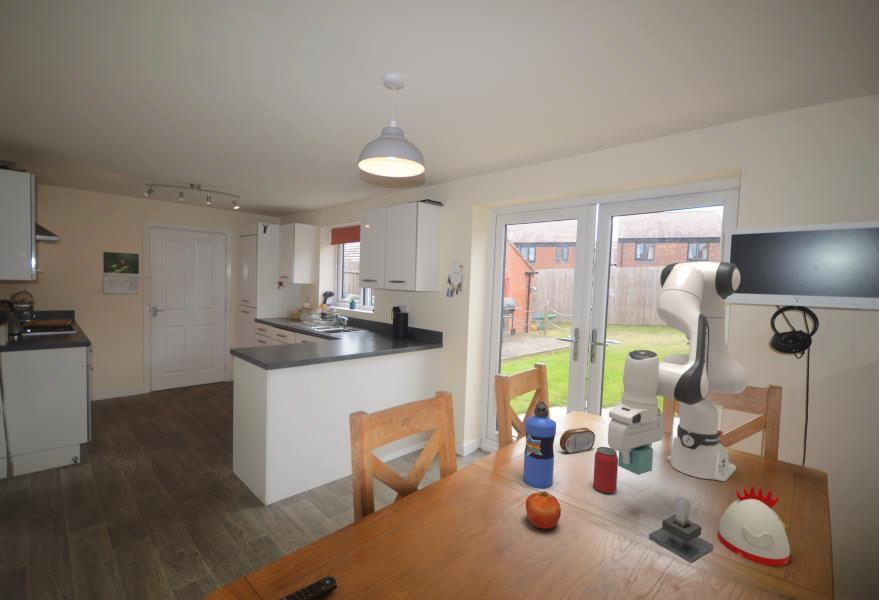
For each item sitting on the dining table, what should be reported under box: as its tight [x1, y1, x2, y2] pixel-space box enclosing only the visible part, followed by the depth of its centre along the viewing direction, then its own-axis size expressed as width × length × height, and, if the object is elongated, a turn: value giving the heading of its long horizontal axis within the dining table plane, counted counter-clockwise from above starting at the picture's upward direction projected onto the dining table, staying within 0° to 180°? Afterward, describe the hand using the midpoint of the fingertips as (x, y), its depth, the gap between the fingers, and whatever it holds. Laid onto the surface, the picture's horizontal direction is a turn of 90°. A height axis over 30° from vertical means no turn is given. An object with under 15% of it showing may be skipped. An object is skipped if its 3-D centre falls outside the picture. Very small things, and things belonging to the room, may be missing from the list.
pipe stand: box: [648, 496, 714, 563], centre depth 100 cm, size 10×10×11 cm
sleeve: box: [618, 445, 654, 476], centre depth 112 cm, size 6×6×6 cm
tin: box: [559, 427, 596, 454], centre depth 152 cm, size 15×3×8 cm, turn 114°
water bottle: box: [522, 401, 557, 490], centre depth 128 cm, size 9×9×25 cm
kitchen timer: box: [717, 484, 791, 567], centre depth 99 cm, size 14×14×15 cm
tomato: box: [525, 490, 562, 530], centre depth 106 cm, size 9×9×8 cm
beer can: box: [592, 446, 619, 494], centre depth 125 cm, size 7×7×12 cm
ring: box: [661, 513, 702, 542], centre depth 100 cm, size 6×6×2 cm
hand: (635, 460), depth 112 cm, fingers closed on sleeve, 6 cm apart
